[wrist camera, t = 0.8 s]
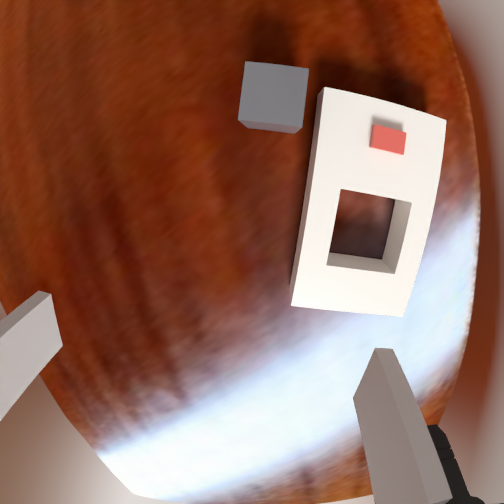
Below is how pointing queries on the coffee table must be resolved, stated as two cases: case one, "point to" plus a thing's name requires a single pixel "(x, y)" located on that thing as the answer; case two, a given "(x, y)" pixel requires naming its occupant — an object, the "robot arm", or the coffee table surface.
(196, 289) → the coffee table surface
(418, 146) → the socket plate
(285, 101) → the plug
